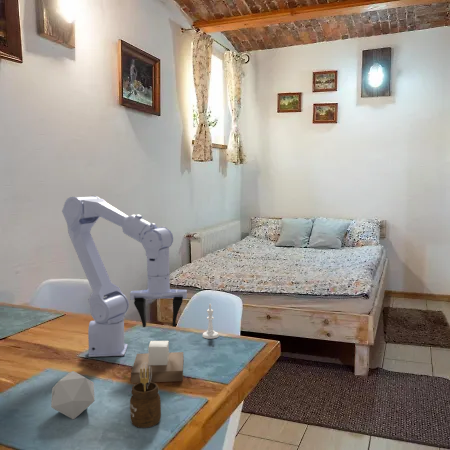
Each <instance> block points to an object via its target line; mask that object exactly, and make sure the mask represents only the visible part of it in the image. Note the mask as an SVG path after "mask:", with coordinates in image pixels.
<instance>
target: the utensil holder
mask: <svg viewBox="0 0 450 450" xmlns="http://www.w3.org/2000/svg"><path fill="white" fill-rule="evenodd" d="M148 364H149V363H148ZM142 366H143V364H142ZM150 366H151V365H150ZM150 366H149V367H150ZM140 367H141V366H140ZM149 369H150V368H149ZM143 374H144V378H142V368H141V369H140V383H134V385H132V387H131V392H130V393H131V396H130V400H129V401H130V402H129V414H130V423H131V425H132V426H134V427H135V428H138V429H146V428H147V429H148V428H152V427H154V426H157V425H158V424H159V422H161V417H162V405H161V402H162V401H161V395H160V392H159V390H160V389H159V386H158V383H157V382H149V380H150V377H149V375H148V368H147V378H145V376H146V363H145V368H144V369H143ZM151 376H152V370H151ZM150 381H151V380H150Z"/></svg>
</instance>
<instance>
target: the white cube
mask: <svg viewBox="0 0 450 450" xmlns="http://www.w3.org/2000/svg"><path fill="white" fill-rule="evenodd" d="M169 342H170V341H169V340H150V342H149V345H148V349H147V350H148V352H147V353H148V357H149V365H167V364H168V359H169V353H170V350H169V349H170V347H169V344H170V343H169Z"/></svg>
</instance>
